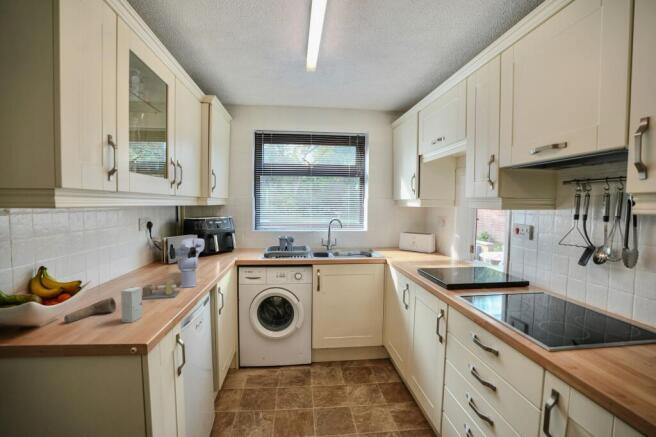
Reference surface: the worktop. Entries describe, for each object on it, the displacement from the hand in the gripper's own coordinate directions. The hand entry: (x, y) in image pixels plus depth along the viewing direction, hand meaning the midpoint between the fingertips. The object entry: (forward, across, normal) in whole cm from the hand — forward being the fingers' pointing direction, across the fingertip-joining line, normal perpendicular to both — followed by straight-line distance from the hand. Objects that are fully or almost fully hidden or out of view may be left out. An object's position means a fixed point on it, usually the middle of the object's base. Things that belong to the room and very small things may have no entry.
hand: (180, 257), depth 142 cm
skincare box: (+31, -12, +15) cm, 36 cm away
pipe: (+23, -29, +16) cm, 40 cm away
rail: (0, -10, +20) cm, 22 cm away
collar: (0, -6, +19) cm, 19 cm away
